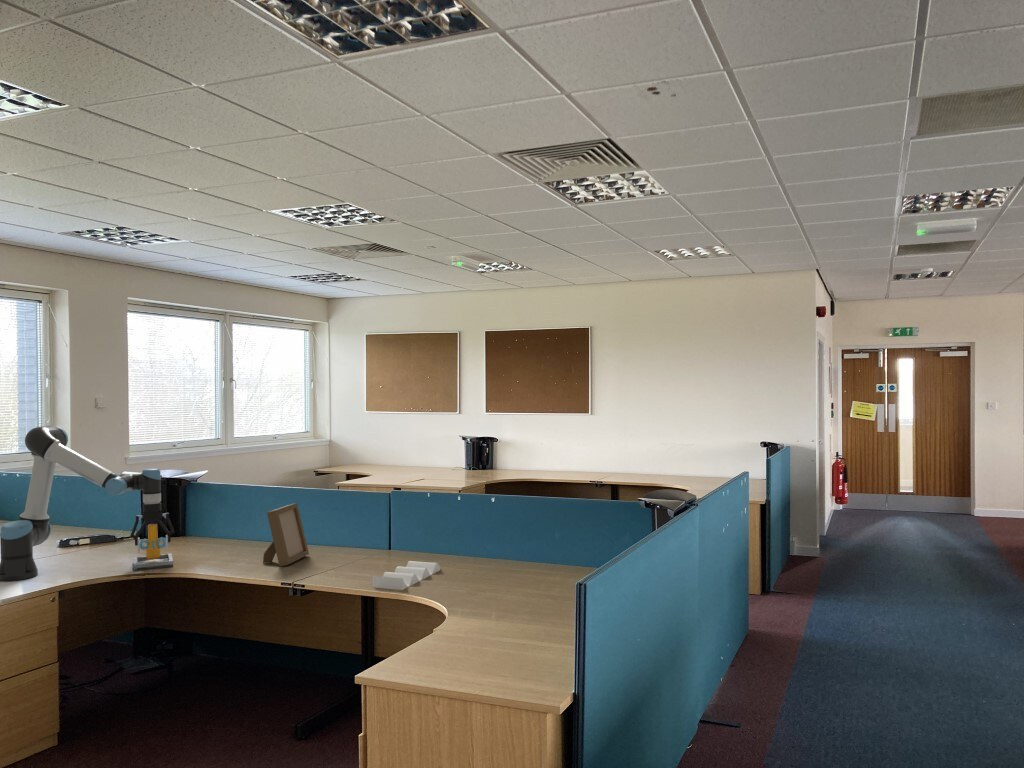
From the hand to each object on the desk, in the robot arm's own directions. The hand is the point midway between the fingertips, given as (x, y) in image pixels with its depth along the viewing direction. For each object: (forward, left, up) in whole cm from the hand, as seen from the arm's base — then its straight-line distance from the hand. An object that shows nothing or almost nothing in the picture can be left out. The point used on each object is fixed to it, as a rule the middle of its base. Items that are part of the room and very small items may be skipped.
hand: (153, 551), depth 357 cm
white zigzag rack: (+94, -82, -7) cm, 125 cm away
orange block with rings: (0, 0, -3) cm, 3 cm away
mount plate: (0, 0, -6) cm, 6 cm away
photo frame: (+54, -23, -6) cm, 59 cm away
